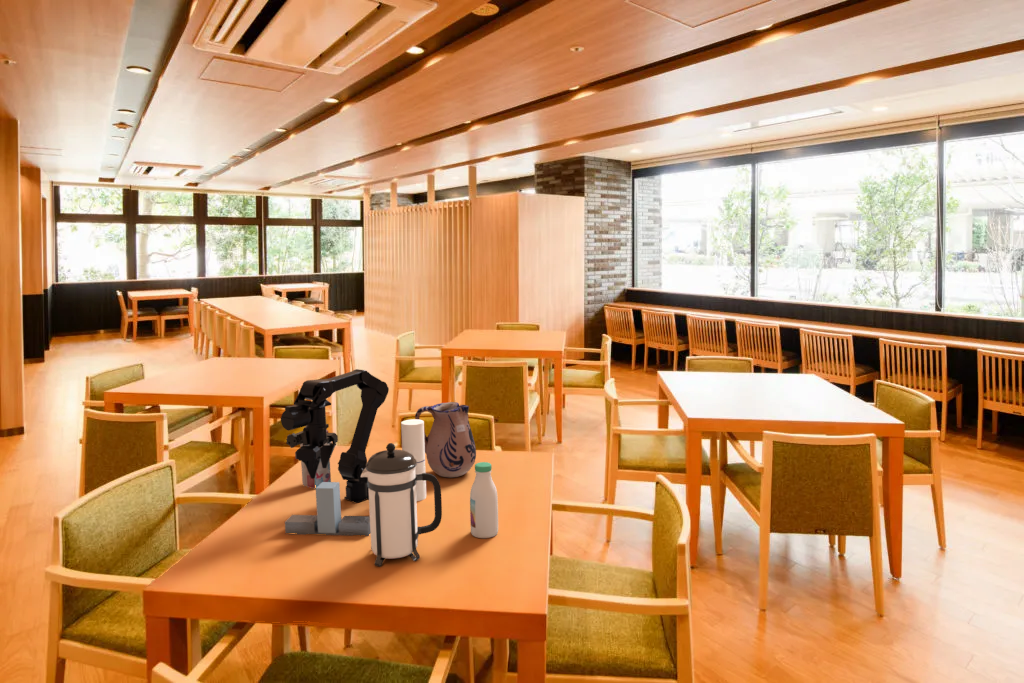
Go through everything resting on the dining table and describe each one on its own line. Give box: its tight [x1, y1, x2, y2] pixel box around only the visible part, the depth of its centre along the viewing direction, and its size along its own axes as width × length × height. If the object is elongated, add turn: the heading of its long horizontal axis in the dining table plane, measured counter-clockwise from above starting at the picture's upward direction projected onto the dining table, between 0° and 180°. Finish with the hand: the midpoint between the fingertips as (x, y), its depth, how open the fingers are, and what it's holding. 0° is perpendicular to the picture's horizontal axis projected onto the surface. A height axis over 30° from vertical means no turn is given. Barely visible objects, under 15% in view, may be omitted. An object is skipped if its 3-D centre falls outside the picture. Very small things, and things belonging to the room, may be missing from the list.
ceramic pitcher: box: [414, 401, 477, 479], centre depth 226 cm, size 18×21×25 cm
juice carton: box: [299, 429, 332, 490], centre depth 218 cm, size 7×7×22 cm
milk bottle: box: [469, 461, 499, 539], centre depth 177 cm, size 8×8×20 cm
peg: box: [315, 481, 342, 533], centre depth 180 cm, size 5×5×13 cm
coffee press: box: [361, 442, 443, 568], centre depth 165 cm, size 17×16×30 cm
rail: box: [284, 514, 371, 537], centre depth 181 cm, size 5×24×4 cm, turn 85°
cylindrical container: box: [400, 418, 427, 502], centre depth 204 cm, size 7×7×25 cm
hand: (318, 473), depth 191 cm, fingers open, 9 cm apart
